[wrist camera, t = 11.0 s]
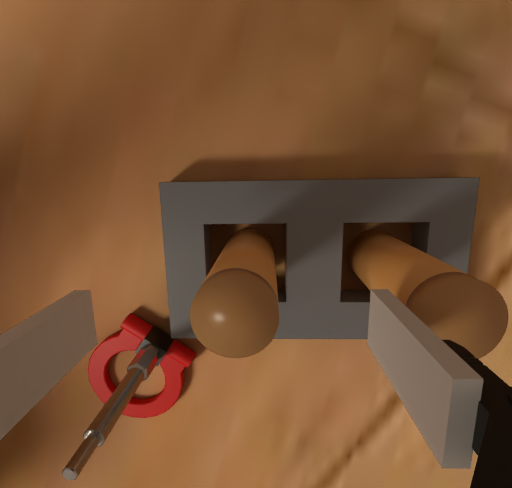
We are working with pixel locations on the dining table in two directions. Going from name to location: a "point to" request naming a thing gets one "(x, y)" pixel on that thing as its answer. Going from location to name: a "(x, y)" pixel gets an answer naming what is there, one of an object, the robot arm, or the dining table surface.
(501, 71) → the dining table surface
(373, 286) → the cylinder
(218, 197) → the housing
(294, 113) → the dining table surface
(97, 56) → the dining table surface
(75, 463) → the tow hook
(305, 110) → the dining table surface
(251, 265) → the peg
